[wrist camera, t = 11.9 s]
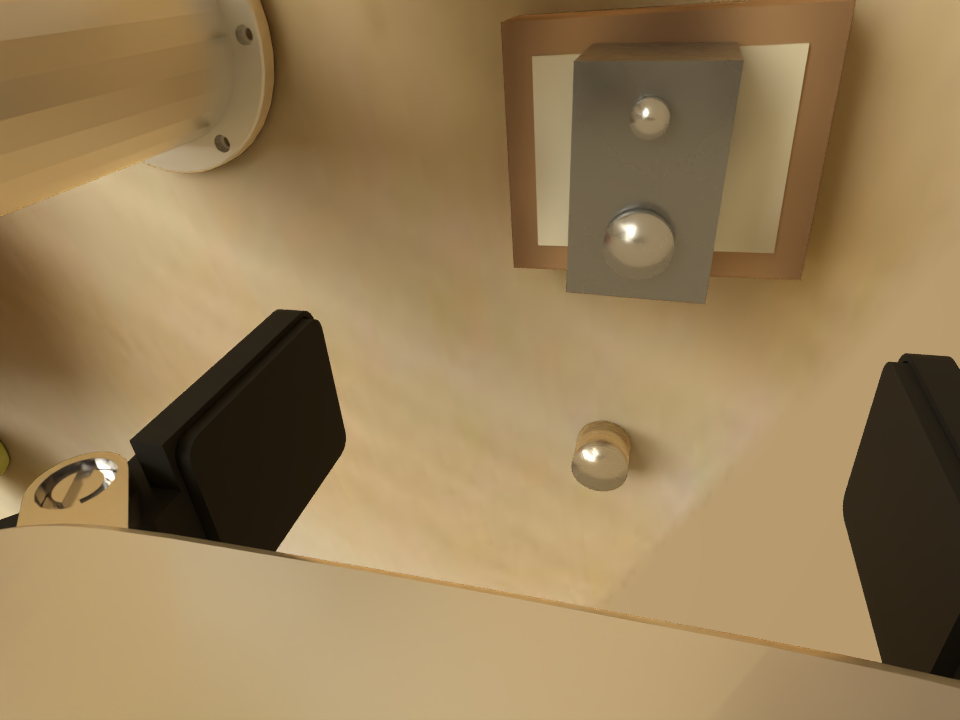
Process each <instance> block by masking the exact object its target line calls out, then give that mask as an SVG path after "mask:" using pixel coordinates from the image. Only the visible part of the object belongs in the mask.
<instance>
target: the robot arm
mask: <svg viewBox="0 0 960 720" xmlns="http://www.w3.org/2000/svg"><path fill="white" fill-rule="evenodd" d="M251 32H252V34H251ZM252 35H253V36H252ZM273 86H274V53H273V48H272V42H271V37H270V31H269V26H268V22H267V19H266V16H265V13H264V10H263V7H262V4H261V1H260V0H0V217H1V216H3V215H6V214H8V213H11V212H13V211H16V210H18V209H21V208H24V207H26V206H29V205H31V204H34V203H36V202H39V201H41V200H44V199H47V198H49V197H52V196H54V195H57V194H59V193H62V192H65V191H67V190H70V189H72V188H75V187H77V186H80V185H82V184H85V183H88V182H90V181H93V180H95V179H98V178H100V177H103V176H106V175H108V174H111V173H113V172H116V171H118V170H121V169H123V168H126V167H129V166H131V165H134V164H136V163H139V162H141V161H142V162H144V163H145V164H147V165H150V166H153V167H156V168H159V169H162V170H166V171H170V172H179V173H195V172H204V171H208V170H210V169H213V168H216V167H218V166H221V165H223V164H225V163H227V162H229V161H231V160H232V159H234V158H236V157H238V156H239V155H241V154H242V153H243V152H244V151H245V150H246V149H247V148H248V147H249V146H250V145H251V144H252V143H253V142H254V140H255V138H256V137H257V135H258V134H259V132H260V130H261V129H262V127H263V125H264V123H265V120H266V117H267V114H268V111H269V108H270V106H271V100H272V93H273ZM130 443H131V445H132V447H133V450H134V452H135V454H136V455H135V456H134V457H133V458H131V459H130V460H129V461H128V462H127V460H126V459H125V458H124V457H122V456H121V455H120V454H116V453H112V452H93V453H88V454H84V455H79V456H77V457H74V458H71V459H68V460H66V461H63V462H61V463H60V464H58V465H56V466H54V467H52V468H50V469H49V470H47V471H46V472H44V473H43V474H42V475H40V476H39V477H38V478H36V479H35V481H34V482H33V483H32V484H31V485H30V486H29V487H28V488H27V490H26V492H25V494H24V497H23V499H22V503H21V508H20V512H19V513H18V514H15V515H12V516H10V517H7V518H4V519H1V520H0V720H960V369H959V368H958V366H957V364H956V363H955V361H954V360H953V359H952V358H951V357H948V356H934V355H921V354H907V353H906V354H904V355H902V356H901V358H900V359H899V361H898V362H888V363H886V365H885V366H884V368H883V371H882V374H881V377H880V380H879V383H878V387H877V390H876V393H875V397H874V400H873V403H872V406H871V410H870V413H869V417H868V419H867V423H866V426H865V429H864V433H863V436H862V439H861V442H860V446H859V449H858V452H857V456H856V459H855V462H854V465H853V469H852V472H851V476H850V478H849V482H848V485H847V488H846V491H845V495H844V501H843V516H844V521H845V525H846V528H847V532H848V535H849V540H850V543H851V547H852V551H853V555H854V558H855V562H856V566H857V569H858V573H859V577H860V581H861V585H862V588H863V592H864V596H865V600H866V603H867V607H868V611H869V614H870V618H871V622H872V626H873V630H874V633H875V637H876V641H877V645H878V648H879V652H880V656H881V660H882V663H878V662H873V661H869V660H864V659H860V658H855V657H850V656H845V655H841V654H835V653H830V652H825V651H820V650H814V649H809V648H803V647H798V646H793V645H787V644H783V643H777V642H773V641H767V640H763V639H757V638H753V637H747V636H742V635H736V634H731V633H726V632H720V631H715V630H709V629H704V628H699V627H693V626H688V625H682V624H677V623H671V622H666V621H661V620H655V619H650V618H644V617H639V616H633V615H627V614H622V613H617V612H612V611H606V610H601V609H596V608H590V607H585V606H579V605H574V604H568V603H563V602H557V601H552V600H546V599H541V598H535V597H530V596H524V595H519V594H513V593H507V592H502V591H496V590H491V589H485V588H480V587H474V586H468V585H463V584H457V583H452V582H446V581H440V580H435V579H429V578H424V577H418V576H412V575H407V574H401V573H395V572H390V571H384V570H379V569H373V568H367V567H361V566H356V565H350V564H344V563H338V562H332V561H327V560H321V559H315V558H309V557H304V556H298V555H292V554H286V553H280V552H275V551H276V550H277V548H278V547H279V545H280V544H281V543H282V541H283V540H284V538H285V537H286V535H287V534H288V532H289V531H290V529H291V528H292V526H293V525H294V523H295V522H296V520H297V519H298V517H299V516H300V514H301V513H302V512H303V510H304V509H305V507H306V506H307V504H308V503H309V501H310V500H311V498H312V497H313V495H314V494H315V492H316V491H317V489H318V488H319V486H320V485H321V484H322V482H323V481H324V479H325V478H326V476H327V475H328V473H329V472H330V470H331V469H332V467H333V466H334V464H335V463H336V461H337V460H338V458H339V457H340V456H341V454H342V452H343V450H344V447H345V443H346V433H345V428H344V424H343V419H342V415H341V411H340V406H339V402H338V397H337V393H336V388H335V384H334V379H333V375H332V370H331V366H330V361H329V357H328V352H327V348H326V343H325V339H324V334H323V330H322V326H321V324H320V322H319V321H318V320H316V319H314V318H313V316H312V315H311V313H309V312H307V311H297V310H283V309H278V310H276V311H274V312H273V313H272V314H271V315H270V316H269V317H268V318H266V319H265V320H264V321H263V322H262V323H261V324H260V325H259V326H257V327H256V328H255V329H254V330H253V331H252V332H251V333H250V334H248V335H247V336H246V337H245V338H244V339H243V340H242V341H241V342H239V343H238V344H237V345H236V346H235V347H234V348H233V349H232V350H231V351H229V352H228V353H227V354H226V355H225V356H224V357H223V358H222V359H220V360H219V361H218V362H217V363H216V364H215V365H214V366H213V367H211V368H210V369H209V370H208V371H207V372H206V373H205V374H204V375H203V376H201V377H200V378H199V379H198V380H197V381H196V382H195V383H194V384H192V385H191V386H190V387H189V388H188V389H187V390H186V391H185V392H183V393H182V394H181V395H180V396H179V397H178V398H177V399H176V400H175V401H173V402H172V403H171V404H170V405H169V406H168V407H167V408H166V409H164V410H163V411H162V412H161V413H160V414H159V415H158V416H157V417H155V418H154V419H153V420H152V421H151V422H150V423H149V424H148V425H146V426H145V427H144V428H143V429H142V430H141V431H140V432H139V433H138V434H136V435H135V436H134V437H133V438H132V439H131V440H130Z"/></svg>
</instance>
